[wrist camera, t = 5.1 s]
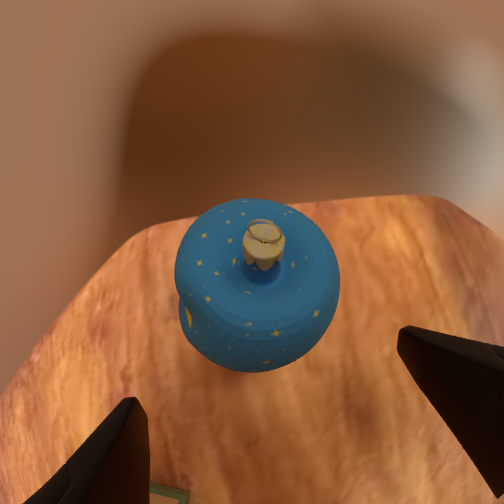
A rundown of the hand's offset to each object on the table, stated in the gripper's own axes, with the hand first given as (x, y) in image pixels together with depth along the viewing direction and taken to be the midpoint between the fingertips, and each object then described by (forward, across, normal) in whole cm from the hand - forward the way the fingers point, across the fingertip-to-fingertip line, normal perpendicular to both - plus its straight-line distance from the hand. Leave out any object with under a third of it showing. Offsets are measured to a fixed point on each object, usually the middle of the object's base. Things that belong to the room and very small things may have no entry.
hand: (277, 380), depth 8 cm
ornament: (+10, 0, +6) cm, 11 cm away
